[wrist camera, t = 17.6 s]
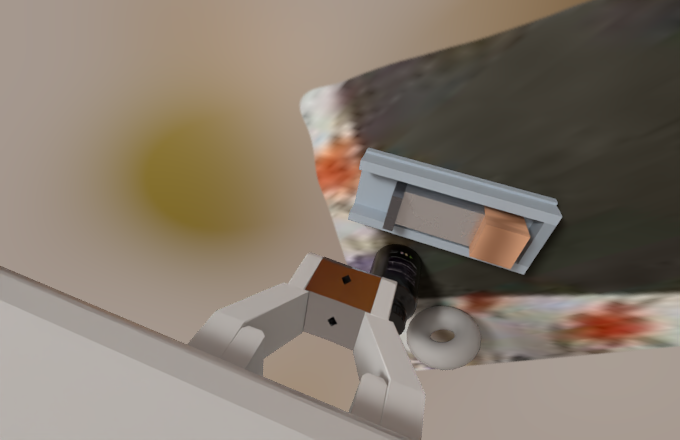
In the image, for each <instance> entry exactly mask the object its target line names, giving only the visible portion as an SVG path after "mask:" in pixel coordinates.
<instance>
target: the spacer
mask: <svg viewBox="0 0 680 440" xmlns="http://www.w3.org/2000/svg"><path fill="white" fill-rule="evenodd" d="M484 210H485V217H484V219H483V221H482V222H481V224H480V226H479V228H478V230H477V232H476V234H475V236H474V238H473V240H472V242H471V244H470V246H469V256H470V257H473V258H476V259H479V260H482V261H486V262H489V263H492V264H495V265H498V266H502V267H505V268H508V269H511V268H512V266H513V264H514V263H515V261H516V260H517V258H518V256H519V255H520V253H521V252H522V250H523V248H524V247H525V245H526V244H527V242H528V241H529V239H530V235H529V232H528V228H527V225H526V222H525V219H524V217H523V216H520V215H516V214H513V213H509V212H506V211H502V210H499V209H495V208H492V207H488V206H485V205H484Z"/></svg>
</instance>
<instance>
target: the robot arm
mask: <svg viewBox="0 0 680 440" xmlns="http://www.w3.org/2000/svg"><path fill="white" fill-rule="evenodd" d="M396 288H397V282H396V281H393V280H390V279H387V278H384V277H382V278H381V277H380V276H377V275H374V274H371V273H368V272H365V271H362V270H359V269H356V268H353V267H350V266H348V265H345V264H342V263H340V262H336V261H334V260H331V259H329V258H326V257H322V256H319V255H317V254H314V253H311V252H310V253H308V254H307V255H306V257H305V258H304V260H303V261H302V263H301V264H300V266H299V268H298V269H297V270H296V272H295V273H294V275H293V277H292V278H291V279H290V281H289V283H288V284H287V283H284V282H283V283H281V284H278V285H276V286H273V287H271V288H269V289H267V290H264V291H262V292H260V293H257V294H254V295H252V296H250V297H247V298H245V299H243V300H241V301H238V302H236V303H233V304H231V305H229V306H226V307H224V308H221V309H219V310H216V311H215V312H214V313H213V315H212V316H211V317H210V318H209V319H208V321H207V322H206V323H205V324H204V325H203V327H202V328H201V329H200V330H199V331H198V333H197V334H196V335H195V336H194V337H193V338H192V340H191V341H190V342H189V343H188V344H184V343H182V342H179V341H177V340H175V339H172V338H170V337H168V336H165V335H163V334H160V333H158V332H156V331H154V330H151V329H149V328H146V327H144V326H142V325H139V324H137V323H135V322H132V321H130V320H127V319H125V318H123V317H120V316H118V315H116V314H113V313H111V312H108V311H106V310H104V309H101V308H99V307H97V306H94V305H92V304H90V303H87V302H85V301H82V300H80V299H78V298H75V297H73V296H71V295H68V294H66V293H63V292H61V291H59V290H56V289H54V288H52V287H49V286H47V285H45V284H42V283H40V282H37V281H35V280H33V279H30V278H28V277H26V276H23V275H21V274H18V273H16V272H14V271H11V270H9V269H7V268H4V267H2V266H0V440H421V436H422V425H423V415H424V404H425V392H424V390H423V388H422V385H421V383H420V381H419V379H418V377H417V374H416V372H415V370H414V368H413V365H412V363H411V361H410V359H409V356H408V354H407V352H406V350H405V347H404V345H403V343H402V341H401V338H400V336H399V334H398V332H397V330H396V327H395V325H394V323H393V322H391V321H389V317H390V313H391V309H392V304H393V300H394V296H395V292H396ZM303 331H304V332H307V333H310V334H312V335H316V336H318V337H321V338H324V339H326V340H329V341H332V342H334V343H336V344H339V345H341V346H343V347H346V348H348V349H351V350H353V355H354V358H355V363H356V367H357V372H358V376H359V380H360V383H359V386H358V388H357V391H356V394H355V397H354V399H353V402H352V405H351V407H350V410H349V413H348V412H346V411H343V410H341V409H338V408H336V407H334V406H331V405H329V404H327V403H324V402H322V401H320V400H317V399H315V398H312V397H310V396H308V395H305V394H303V393H301V392H298V391H296V390H293V389H291V388H288V387H286V386H284V385H281V384H279V383H277V382H274V381H272V380H270V379H267V378H265V377H263V359H264V358H265V357H266V356H268V355H270V354H271V353H273V352H274V351H276V350H277V349H279V348H280V347H282V346H283V345H285V344H286V343H288V342H289V341H291V340H292V339H294V338H295V337H297V336H298V335H300V334H301V333H302V332H303Z"/></svg>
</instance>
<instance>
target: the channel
mask: <svg viewBox="0 0 680 440" xmlns="http://www.w3.org/2000/svg"><path fill="white" fill-rule="evenodd" d="M359 170H362V173H361V177H360V182H359V186H358V191H357V195H356V199H355V203H354V205H353V207H352V209H351V210H350V213H349V217H348V220H351V221H354V222H358V223H361V224H364V225H367V226H370V227H374V228H377V229H380V230H383V231H386V232H389V233H393V234H396V235H399V236H402V237H405V238H409V239H412V240H415V241H418V242H421V243H425V244H428V245H431V246H434V247H437V248H440V249H444V250H447V251H450V252H453V253H456V254H460V255H463V256H466V257H469V258H472V259H475V260H479V259H476V258H473V257H470V256H469V246H466V245H462V244H459V243H456V242H453V241H449V240H446V239H443V238H440V237H437V236H433V235H430V234H427V233H424V232H420V231H417V230H414V229H411V228H407V227H404V226H401V225H398V224H395V225H394V228H393V231H389V230H386V229H383V225H384V221H385V218H386V214H387V211H388V208H389V204H390V201H391V198H392V194H393V192H394V189H395V186H396V184H397V181H401V182H405V183H408V184H412V185H415V186H419V187H422V188H426V189H429V190H433V191H436V192H440V193H443V194H447V195H450V196H454V197H457V198H461V199H464V200H467V201H471V202H474V203H478V204H481V205H485V206H488V207H492V208H495V209H499V210H502V211H506V212H509V213H513V214H516V215H520V216H523V217H524V219H525V222H526V225H527V228H528V232H529V235H530V239H529V241H528V242H527V244H526V245H525V247H524V248H523V250H522V252H521V253H520V255H519V256H518V258H517V260H516V261H515V263H514V264H513V266H512V268H511V269H508V268H505V267H502V266H498V265H495V264H492V263H489V262H486V261H482V260H479V261H482V262H485V263H488V264H491V265H495V266H498V267H501V268H504V269H507V270H510V271H514V272H517V273H520V274H523V275H524V274H525V272H526V271H527V269H528V268H529V266H530V265H531V263H532V262H533V260H534V259H535V257H536V256H537V254H538V253H539V251H540V250H541V248H542V247H543V245H544V244H545V242H546V241H547V239H548V238H549V236H550V235H551V233H552V232H553V230H554V229H555V227H556V226H557V224H558V223H559V221H560V220H561V218H562V215H561V213H560V211H559V209H558V207H557V204H558V202H557V200H556V199H554V198H550V197H546V196H543V195H539V194H536V193H532V192H528V191H525V190H521V189H517V188H514V187H510V186H506V185H503V184H499V183H495V182H492V181H488V180H485V179H481V178H477V177H474V176H470V175H466V174H463V173H459V172H455V171H452V170H448V169H445V168H441V167H437V166H434V165H430V164H426V163H423V162H419V161H415V160H412V159H408V158H404V157H401V156H397V155H394V154H390V153H386V152H383V151H379V150H375V149H372V148H368V149H367V150H366V153H365V155H364V156H363V158H362V159H361V162H360V167H359Z"/></svg>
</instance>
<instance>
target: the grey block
mask: <svg viewBox="0 0 680 440" xmlns="http://www.w3.org/2000/svg"><path fill="white" fill-rule="evenodd" d="M484 217H485V210H484V205H481V204H478V203H474V202H471V201H467V200H464V199H461V198H457V197H454V196H450V195H447V194H443V193H440V192H436V191H433V190H429V189H426V188H422V187H419V186H415V185H412V184H408V183H405V182H401V181H397V184H396V186H395V189H394V192H393V194H392V198H391V201H390V204H389V208H388V211H387V214H386V218H385V221H384V225H383V229H386V230H389V231H393V228H394V225H395V224H398V225H401V226H404V227H407V228H411V229H414V230H417V231H420V232H424V233H427V234H430V235H433V236H437V237H440V238H443V239H446V240H449V241H453V242H456V243H459V244H462V245H466V246H470V244H471V242H472V240H473V238H474V236H475V234H476V232H477V230H478V228H479V226H480V224H481V222H482V221H483V219H484Z"/></svg>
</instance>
